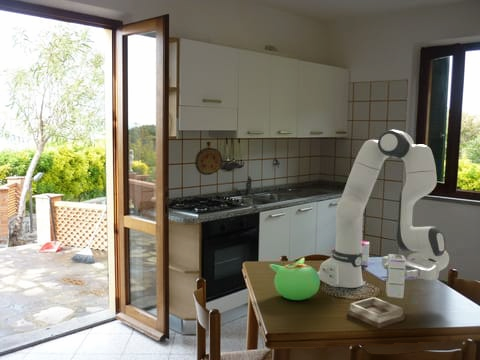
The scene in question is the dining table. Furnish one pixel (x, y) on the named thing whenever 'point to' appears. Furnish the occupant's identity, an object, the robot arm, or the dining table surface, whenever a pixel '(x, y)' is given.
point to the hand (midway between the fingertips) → (395, 270)
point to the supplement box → (365, 253)
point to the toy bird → (296, 280)
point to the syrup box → (395, 275)
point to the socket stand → (376, 312)
